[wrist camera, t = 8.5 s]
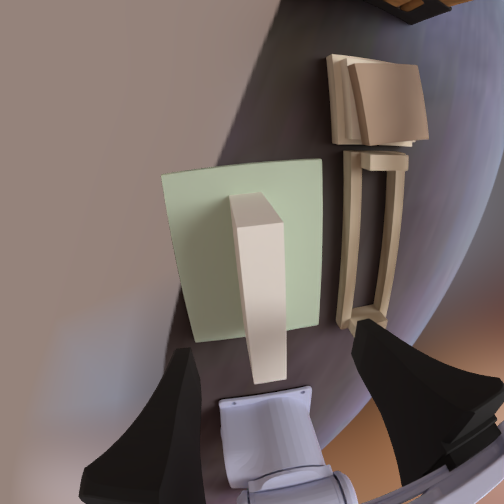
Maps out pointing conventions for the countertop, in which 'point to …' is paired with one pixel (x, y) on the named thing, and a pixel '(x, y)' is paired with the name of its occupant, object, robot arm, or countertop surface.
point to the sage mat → (222, 241)
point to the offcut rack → (372, 162)
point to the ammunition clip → (415, 8)
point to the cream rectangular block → (261, 283)
